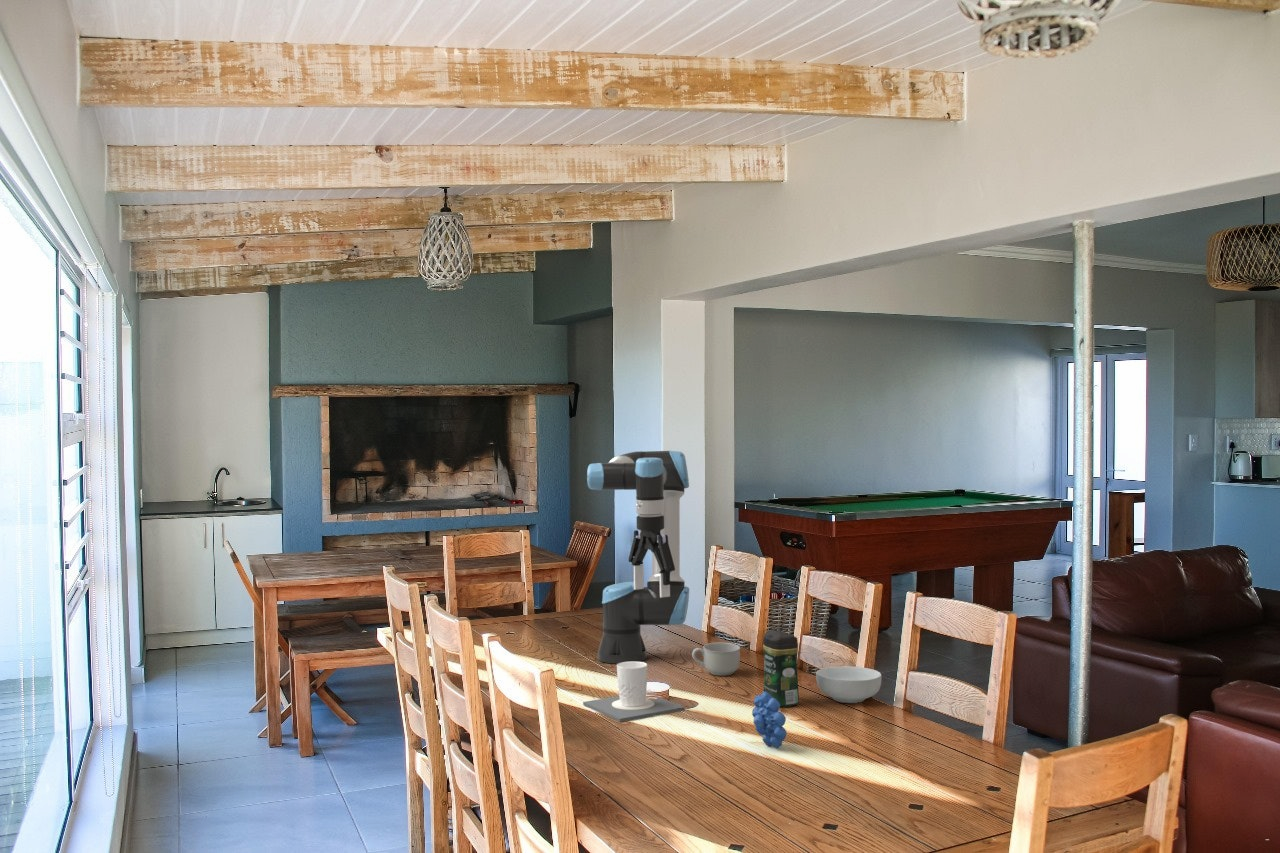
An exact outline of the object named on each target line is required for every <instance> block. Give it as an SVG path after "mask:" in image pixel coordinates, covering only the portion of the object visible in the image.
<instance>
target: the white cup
mask: <svg viewBox="0 0 1280 853" xmlns="http://www.w3.org/2000/svg"><path fill="white" fill-rule="evenodd" d="M616 675H617V676H616V678H617V689H618V696H619V700H620V704H621V705H623V706H631V707H634V706H641V705H644V704H645V703H646V692H647V688H648V687H647V685H648V663H646V662H644V661H641V662H637V661H629V662H622V663H619V664H616Z"/></svg>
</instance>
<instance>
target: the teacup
mask: <svg viewBox="0 0 1280 853" xmlns="http://www.w3.org/2000/svg"><path fill="white" fill-rule="evenodd" d="M740 650H741V646H740V645H738V644H735V643H731V642H724V641H722V642H720V641H719V642H718V641H717V642H709V643H706V644H704V645H703V648H702V647H696V648H694V649H693V650H692V653H691V657H692V659H693V660H694V662H696V663H697V664H699V665H701V667H702V669H703V668H704V669H706V670H707V671H708V672H709V673H710V674H711V675H714V676H719V677H720V676H721V677H724V676H726V675H727V676H731V675H732V674H734V673H735V672H736V671H737V670H738V669H739V667H740V660H741V659H740V658H741V656H740V654H741V653H740V652H741V651H740ZM697 652H699V653H701V655H702V657H703V661H702V660H700V659H698V658H697V657H696V654H697Z"/></svg>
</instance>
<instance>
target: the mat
mask: <svg viewBox="0 0 1280 853" xmlns="http://www.w3.org/2000/svg"><path fill="white" fill-rule="evenodd" d="M582 706H584V707H586V708H589V709H591V710H593V711H595V712H598V713H600V714H601V715H604V716H606V717H608V718H610V719H612V720H615V721H617V722H618V723H621V722H628V721H629V722H630V721H633V720H638V719H639V720H640V719H643V718H649V717H655V716H660V715H665V714H671V713H676V712H682V711H685V706H683V705H681V704H678V703H675V702H673V701H670V700H667V699H666V698H663V697H661V698H657V699H646V703H645V704H644V705H641V706H634V707H631V706H623V705H621V704H620V700H619V695H616V696H612V697H605V698H598V699H593V700H587V701H583V702H582Z"/></svg>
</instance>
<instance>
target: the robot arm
mask: <svg viewBox="0 0 1280 853" xmlns="http://www.w3.org/2000/svg"><path fill="white" fill-rule="evenodd" d="M687 466H688V465H687V460H686V456H685V454H684V453H683V452H682V451H676V450H657V451H656V450H655V451H653V450H652V451H651V450H650V451H648V450H647V451H643V450H642V451H631V452H628V453H623V454H621V455H617V456H615V457H613V458H612V459H610V460H609V462H606V463H605V462H597V463H590V464H589V465H588V467H587V472H586V473H587V474H586V480H587V487H588V488H589V490H593V491H616V490H617V491H619V490H621V491H622V490H630V491H635V492H636V493H635V495H636V496H635V502H636V503H635V506H636V514H637V516H636V517H635V518H636V529H637V530H634V531H633V540H632V544H631V548H630V552H629V556H628V563H631V565H632V568H633V581H624V582H619V583H615V584H610V585H608V586H606V587H604V588H603V590H602V601H601V604H602V636H601V639H600V640H601V641H600V643H599V646H598V650H597V660H598V661H599V662H602V663H608V664H613V665H614V664H616V665H617V664H619V663H622V662H629V661H637V662H644V661H645V660H647V659H648V658H647V648H646V646H645V643H644V639H643V637H642V633H641V626H669V627H671V626H680V625H683V624H684V623H685V621H686V619H687V614H688V606H689V602H690V601H689V598H690V588H689V587H688V586H686V584H685V582H686V581H685V580H684V579H683V578H682V577H681V572H680V571H681V569H680V568H681V567H680V561H681V560H680V552H681V550H680V549H681V547H680V546H681V545H680V544H681V543H680V538H681V537H680V535H681V534H680V524H681V523H680V520H681V519H680V518H681V517H680V516H681V515H680V513H681V510H680V509H681V508H680V500H681V498H682V497H683V496H684V495H685V489H687V488H689V487H690V481H689V480H690V479H689V473H688V467H687ZM648 550H649V551H651V576H650V577H649V579H648V580H647V581H646V586H644V585H645V584H644V578H645V577H644V559H645V558H646V554H647V553H648Z"/></svg>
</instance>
